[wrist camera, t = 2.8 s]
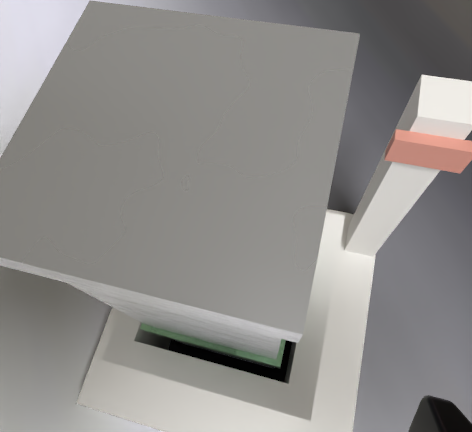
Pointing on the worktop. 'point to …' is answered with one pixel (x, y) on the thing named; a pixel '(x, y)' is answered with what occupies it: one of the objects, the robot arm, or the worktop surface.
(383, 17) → the worktop surface
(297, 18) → the worktop surface
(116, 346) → the stand
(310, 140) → the column
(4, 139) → the worktop surface
